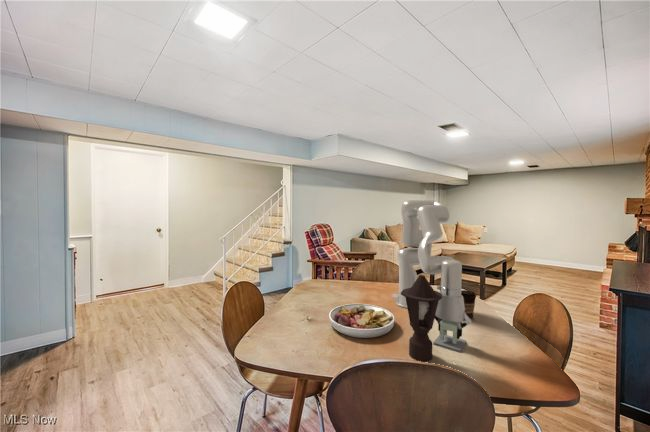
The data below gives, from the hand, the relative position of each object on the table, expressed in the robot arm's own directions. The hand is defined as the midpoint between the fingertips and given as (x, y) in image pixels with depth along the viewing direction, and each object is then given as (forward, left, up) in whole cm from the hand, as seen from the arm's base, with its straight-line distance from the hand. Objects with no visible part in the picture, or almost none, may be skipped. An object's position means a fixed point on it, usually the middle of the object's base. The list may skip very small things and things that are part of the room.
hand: (449, 334), depth 113 cm
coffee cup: (0, +32, -4) cm, 32 cm away
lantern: (-6, -17, -4) cm, 18 cm away
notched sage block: (0, 0, -2) cm, 2 cm away
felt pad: (0, 0, -3) cm, 3 cm away
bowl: (-37, -7, -4) cm, 38 cm away
